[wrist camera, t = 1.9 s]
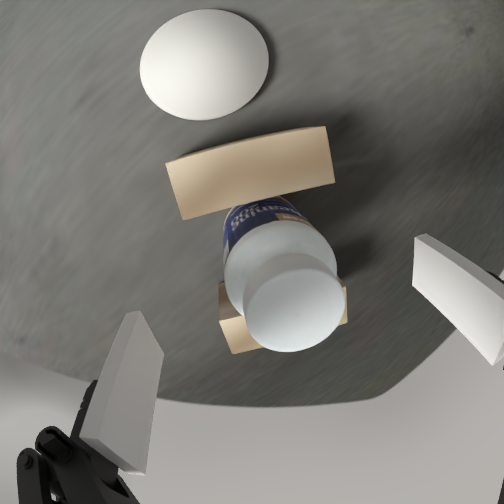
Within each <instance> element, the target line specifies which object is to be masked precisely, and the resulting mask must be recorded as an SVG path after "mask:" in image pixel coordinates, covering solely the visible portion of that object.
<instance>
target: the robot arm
mask: <svg viewBox="0 0 504 504" xmlns="http://www.w3.org/2000/svg"><path fill="white" fill-rule="evenodd" d="M412 285H413V286H414V287H415V288H416V289H417V290H418V291H419V292H420V293H421V294H422V295H424V296H425V297H426V298H427V299H428V300H429V301H430V302H431V303H432V304H433V305H434V306H435V307H436V308H437V309H438V310H439V311H440V312H441V313H442V314H443V315H444V316H445V317H446V318H448V319H449V320H450V321H451V322H452V323H453V324H454V325H455V326H456V328H457V329H458V330H459V331H460V332H461V333H462V334H463V335H464V336H465V337H466V338H467V339H468V340H469V341H470V342H471V343H472V344H473V345H474V346H475V347H476V348H477V350H478V351H480V353H481V354H482V355H483V356H484V357H485V358H486V359H487V361H488V362H489V363H490V364H491V365H492V366H493V365H494V364H495V363H497V362H498V361H499V360H500V359H501V358H502V357H503V356H504V281H503V280H501V279H500V278H499V277H498V276H496V275H495V274H493V273H491V272H488V271H486V270H483V269H481V268H480V267H478V266H477V265H476V264H474V263H473V262H471V261H470V260H468V259H467V258H465V257H463V256H462V255H460V254H459V253H457V252H456V251H454V250H452V249H451V248H449V247H448V246H446V245H444V244H443V243H441V242H440V241H438V240H436V239H435V238H433V237H431V236H429V235H428V234H423V235H419V236H416V237H415V245H414V268H413V282H412ZM163 357H164V353H163V351H162V349H161V348H160V346H159V344H158V342H157V341H156V339H155V337H154V335H153V333H152V332H151V330H150V328H149V326H148V324H147V322H146V320H145V319H144V317H143V315H142V313H141V311H140V310H139V311H134V312H130V313H126V315H125V317H124V319H123V321H122V324H121V326H120V328H119V330H118V333H117V335H116V337H115V340H114V342H113V344H112V347H111V349H110V352H109V354H108V356H107V359H106V361H105V364H104V366H103V369H102V372H101V374H100V377H99V379H98V380H94V381H93V382H92V383H91V384H90V386H89V387H88V388H87V390H86V392H85V395H84V398H83V402H82V403H81V406H80V410H79V411H78V414H77V417H76V420H75V423H74V426H73V429H72V432H71V436H70V438H69V437H68V436H67V435H65V434H64V433H63V432H62V431H61V430H60V429H59V428H57V427H55V426H49V427H46V428H44V429H43V430H42V431H41V432H40V433H39V435H38V436H37V438H36V442H35V449H36V450H37V451H38V452H39V453H41V454H42V455H40V454H39V453H38V452H36V451H35V450H34V449H32V448H26V449H24V450H22V451H21V452H20V454H19V456H18V458H17V484H18V497H19V504H140V503H139V502H138V500H137V499H136V498H135V496H134V495H133V494H132V492H131V491H130V489H129V488H128V486H127V485H126V484H125V482H124V480H123V479H122V478H121V477H120V476H119V475H118V468H120V469H122V470H123V471H124V472H126V473H127V474H138V475H145V474H146V465H147V456H148V449H149V441H150V434H151V426H152V419H153V413H154V407H155V401H156V395H157V389H158V384H159V378H160V373H161V367H162V362H163ZM503 370H504V368H503ZM51 493H52V494H53V495H55V496H56V501H54V500H52V498H51ZM498 504H504V480H503V484H502V488H501V493H500V496H499V500H498Z"/></svg>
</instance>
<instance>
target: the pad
mask: <svg viewBox="0 0 504 504" xmlns="http://www.w3.org/2000/svg"><path fill="white" fill-rule="evenodd" d="M268 64H269V56H268V50H267V46H266V44H265V41H264V39H263V37H262V36H261V34H260V33H259V31H258V30H257V29H256V28H255V27H254V26H253V25H252V24H251V23H250V22H248V21H247V20H246V19H244V18H242V17H240V16H238V15H236V14H233V13H231V12H227V11H223V10H216V9H203V10H196V11H191V12H187V13H184V14H182V15H179V16H177V17H175V18H173V19H171V20H170V21H168V22H167V23H165V24H164V25H163V26H161V27H160V28H159V29H158V30H157V31H156V32H155V33H154V34H153V36H152V37H151V38H150V40H149V41H148V43H147V44H146V47H145V49H144V51H143V54H142V57H141V63H140V76H141V81H142V84H143V87H144V89H145V91H146V93H147V95H148V96H149V97H150V99H151V100H152V101H153V102H154V103H155V104H156V105H157V106H158V107H160V108H161V109H162V110H164V111H166V112H168V113H170V114H172V115H174V116H177V117H180V118H184V119H189V120H211V119H216V118H220V117H223V116H226V115H228V114H231V113H233V112H235V111H236V110H238V109H240V108H241V107H243V106H244V105H245V104H247V103H248V102H249V101H250V100H251V99H252V98H253V97H254V96H255V94H256V93H257V92H258V91H259V89H260V88H261V86H262V84H263V82H264V80H265V78H266V75H267V71H268Z"/></svg>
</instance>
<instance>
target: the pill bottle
mask: <svg viewBox="0 0 504 504" xmlns="http://www.w3.org/2000/svg"><path fill="white" fill-rule="evenodd" d="M223 257H224V282H225V287H226V291H227V294H228V297H229V299H230V301H231V303H232V305H233V306H234V307H235V309H236V310H237V311H238V312H239V313H240V314H241V315H243V316H244V317H245V320H246V325H247V328H248V331H249V333H250V334H251V336H252V337H253V338H254V339H255V340H256V341H257V342H258V343H259V344H260V345H262V346H264V347H266V348H268V349H270V350H275V351H280V352H294V351H300V350H303V349H306V348H309V347H312V346H314V345H316V344H318V343H319V342H321V341H322V340H324V339H325V338H327V337H328V336H329V335H330V334H331V333H332V332H333V331H334V330H335V328H336V327H337V326H338V324H339V322H340V321H341V319H342V316H343V314H344V310H345V294H344V291H343V288H342V286H341V284H340V283H339V281H338V280H337V278H336V276H337V264H336V259H335V256H334V253H333V251H332V249H331V247H330V245H329V244H328V242H327V241H326V239H325V238H324V237H323V236H322V235H321V234H320V233H319V232H318V231H317V229H315V228H314V227H313V226H312V225H311V223H310V222H309V221H308V220H307V219H306V218H305V217H304V216H303V215H302V214H301V213H300V212H299V211H298V210H297V209H296V208H295V207H294V206H293V205H292V204H291V203H289V202H288V201H287V200H286V199H284V198H282V197H280V196H274V197H270V198H266V199H262V200H258V201H254V202H250V203H246V204H242V205H238V206H234V207H232V209H231V210H230V211H229V213H228V215H227V217H226V220H225V222H224V227H223Z"/></svg>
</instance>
